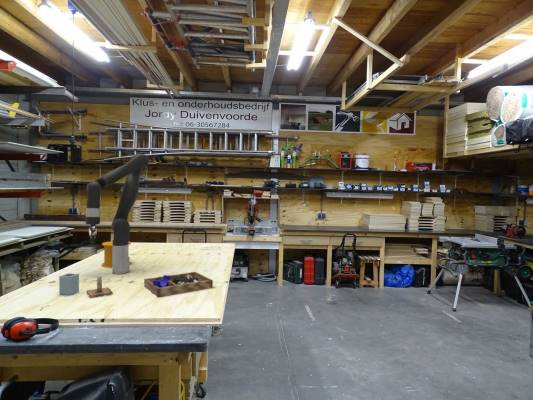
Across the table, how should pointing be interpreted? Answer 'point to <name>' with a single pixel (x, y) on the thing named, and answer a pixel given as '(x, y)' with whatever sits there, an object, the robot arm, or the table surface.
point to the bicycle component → (184, 279)
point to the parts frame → (175, 288)
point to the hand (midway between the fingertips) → (92, 243)
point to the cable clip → (162, 283)
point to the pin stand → (99, 290)
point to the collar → (68, 284)
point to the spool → (108, 254)
